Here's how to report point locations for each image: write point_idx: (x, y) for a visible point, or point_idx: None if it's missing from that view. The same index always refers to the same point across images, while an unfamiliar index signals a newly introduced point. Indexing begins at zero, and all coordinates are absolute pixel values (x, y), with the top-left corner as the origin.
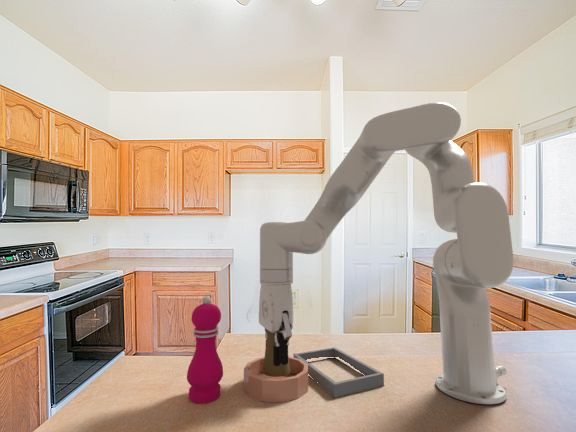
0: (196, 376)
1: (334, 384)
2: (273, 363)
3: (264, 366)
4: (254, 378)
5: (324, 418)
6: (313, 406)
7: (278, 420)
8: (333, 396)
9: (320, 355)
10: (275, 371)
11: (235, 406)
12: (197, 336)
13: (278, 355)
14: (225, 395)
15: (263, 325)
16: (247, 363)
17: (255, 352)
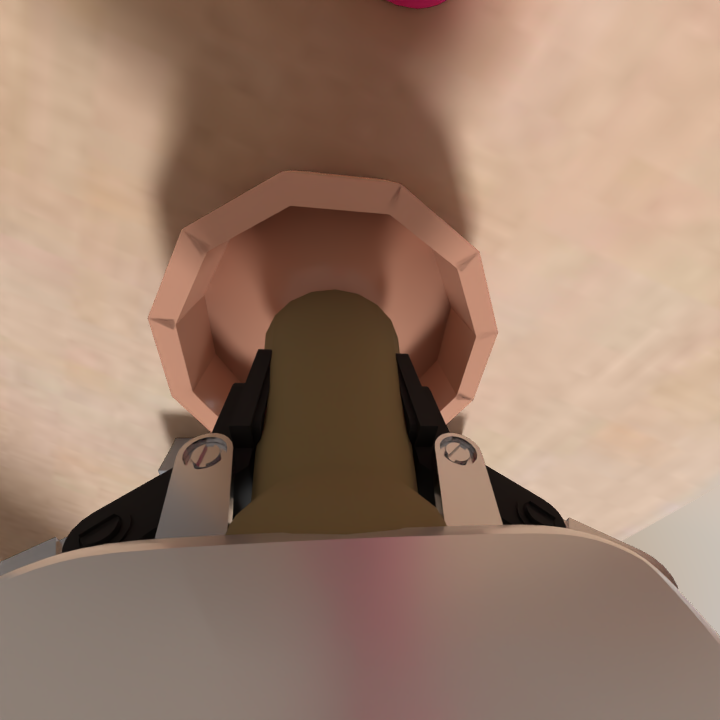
0: None
1: (160, 470)
2: (270, 351)
3: (333, 308)
4: (238, 197)
5: (43, 362)
6: (134, 368)
7: (35, 209)
8: (184, 438)
9: None
10: (269, 338)
11: (212, 46)
12: None
13: (232, 402)
14: (362, 37)
15: (404, 558)
16: (470, 245)
17: (666, 371)
